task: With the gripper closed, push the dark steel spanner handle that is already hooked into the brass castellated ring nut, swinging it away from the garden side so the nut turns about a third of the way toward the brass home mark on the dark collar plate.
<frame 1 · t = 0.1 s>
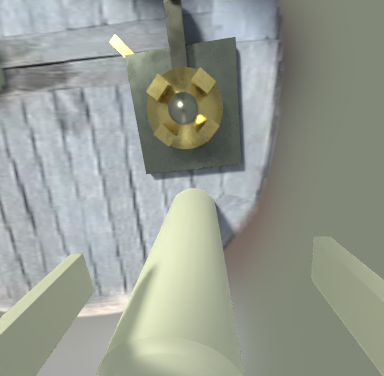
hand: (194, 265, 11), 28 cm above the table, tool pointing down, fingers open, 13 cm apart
ring nut: (179, 69, 28), point 5 cm above the table, hinge at 0.0°
cylinder container: (193, 209, 40), on the table
collar plate: (187, 113, 35), on the table
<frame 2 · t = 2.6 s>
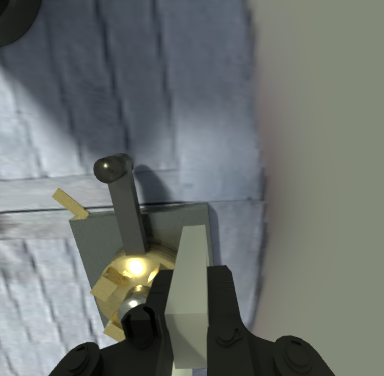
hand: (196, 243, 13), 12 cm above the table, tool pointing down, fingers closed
ring nut: (134, 257, 22), point 5 cm above the table, hinge at 0.0°
cylinder container: (166, 357, 34), on the table
collar plate: (153, 269, 28), on the table
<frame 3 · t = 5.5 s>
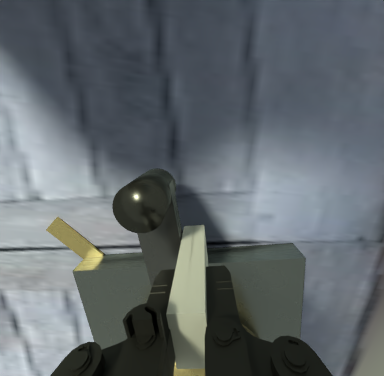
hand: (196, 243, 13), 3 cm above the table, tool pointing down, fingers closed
ring nut: (182, 347, 13), point 5 cm above the table, hinge at 3.6°, touching gripper
collar plate: (196, 336, 19), on the table
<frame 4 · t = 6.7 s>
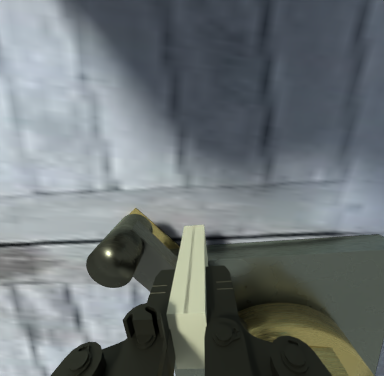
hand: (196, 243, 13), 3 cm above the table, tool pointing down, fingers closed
ring nut: (238, 354, 13), point 5 cm above the table, hinge at 36.8°, touching gripper
collar plate: (265, 331, 19), on the table
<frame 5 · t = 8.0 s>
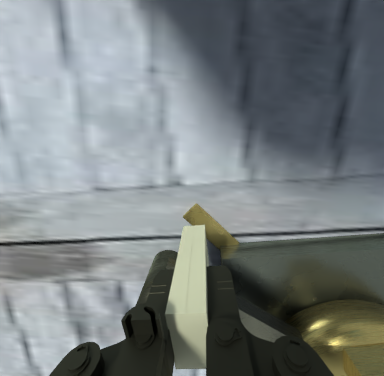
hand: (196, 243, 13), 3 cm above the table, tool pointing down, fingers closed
ring nut: (298, 364, 13), point 5 cm above the table, hinge at 51.7°, touching gripper
collar plate: (321, 329, 18), on the table
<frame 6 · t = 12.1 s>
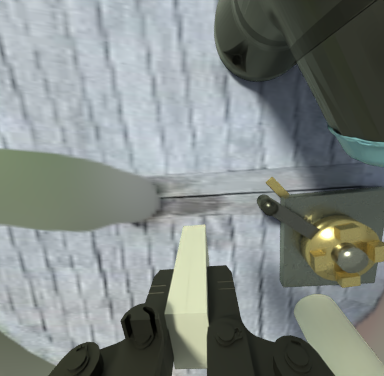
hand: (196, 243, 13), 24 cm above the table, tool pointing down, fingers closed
ring nut: (317, 236, 33), point 5 cm above the table, hinge at 51.9°
cylinder container: (314, 309, 44), on the table
collar plate: (325, 237, 39), on the table
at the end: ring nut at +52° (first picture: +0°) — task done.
